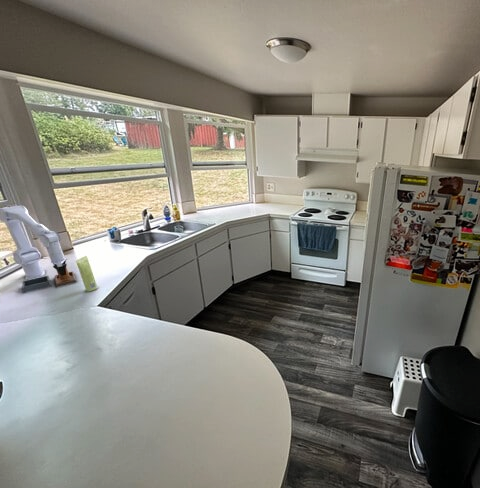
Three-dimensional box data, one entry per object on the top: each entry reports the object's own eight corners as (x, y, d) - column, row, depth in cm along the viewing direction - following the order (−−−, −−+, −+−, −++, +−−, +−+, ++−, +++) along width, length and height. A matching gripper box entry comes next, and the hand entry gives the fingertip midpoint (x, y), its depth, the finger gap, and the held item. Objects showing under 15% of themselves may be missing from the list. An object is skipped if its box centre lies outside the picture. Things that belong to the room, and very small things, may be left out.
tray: (55, 278, 154) (54, 275, 153) (74, 274, 159) (73, 271, 159) (57, 287, 144) (55, 284, 143) (76, 282, 150) (75, 279, 149)
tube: (85, 289, 143) (74, 257, 136) (96, 285, 147) (86, 255, 140) (87, 292, 140) (75, 260, 133) (98, 289, 143) (88, 258, 136)
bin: (24, 286, 144) (22, 281, 143) (50, 280, 151) (48, 275, 150) (24, 293, 137) (21, 287, 136) (51, 286, 145) (48, 281, 143)
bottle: (59, 278, 151) (53, 262, 147) (69, 275, 154) (64, 260, 150) (60, 280, 148) (54, 265, 145) (70, 278, 151) (64, 262, 148)
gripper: (66, 254, 144) (73, 275, 148) (64, 248, 153) (71, 268, 157) (48, 258, 139) (56, 279, 143) (47, 251, 148) (55, 271, 153)
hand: (63, 273), depth 150 cm, fingers closed on bottle, 4 cm apart
